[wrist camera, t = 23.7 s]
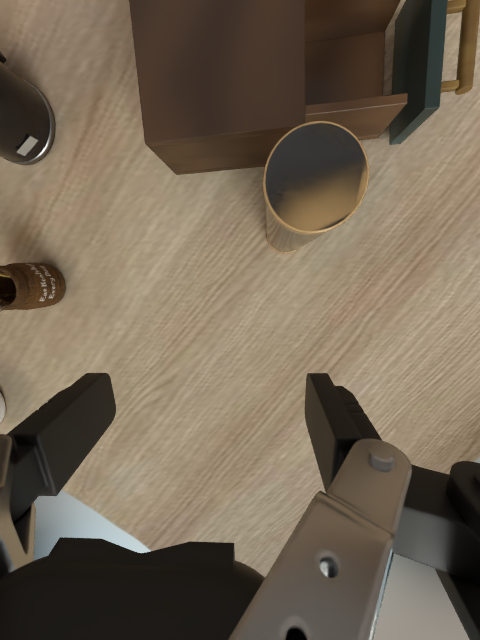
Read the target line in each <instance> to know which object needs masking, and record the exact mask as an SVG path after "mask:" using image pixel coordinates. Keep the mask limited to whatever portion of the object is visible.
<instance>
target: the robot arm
mask: <svg viewBox="0 0 480 640" xmlns="http://www.w3.org/2000/svg"><path fill="white" fill-rule="evenodd" d="M5 61H6V58H5V57H4V56H3V55H2V53H1V52H0V156H1V157H3V158H4V159H6V160H9V161H11V162H13V163H16V164H20V165H30V164H34V163H36V162H38V161H40V160H41V159H43V158H44V157H45V156H46V154H47V153H48V152H49V150H50V148H51V146H52V144H53V141H54V136H55V120H54V115H53V112H52V109H51V107H50V105H49V103H48V101H47V99H46V98H45V96H44V95H43V94H42V93H41V92H40V91H39V90H38V89H37V88H35V87H34V86H33V85H32V84H30V83H29V82H27V81H25V80H24V79H22V78H21V77H20V76H18V75H17V74H16V73H14V72H13V71H12V70H10V69H9V68H8V67H7V66H5V65H4V63H5ZM115 413H116V404H115V399H114V394H113V389H112V384H111V379H110V376H109V375H108V374H107V373H86V374H85V375H84V376H82V377H81V378H80V379H79V380H77V381H76V382H75V383H74V384H73V385H71V386H70V387H68V388H66V389H64V390H62V391H60V392H58V393H57V394H56V395H55V396H54V397H52V398H51V399H50V400H49V401H48V403H45V404H44V405H42V406H41V407H40V408H39V410H36V411H35V412H34V413H32V414H31V415H30V416H29V417H28V418H26V419H25V420H24V421H23V422H21V423H20V424H19V425H18V426H16V427H15V428H14V429H13V430H11V431H10V432H9V433H8V434H6V435H4V434H0V640H373V638H374V634H375V630H376V625H377V621H378V617H379V613H380V609H381V605H382V601H383V597H384V593H385V589H386V585H387V581H388V576H389V573H390V569H391V565H392V561H393V557H394V553H395V554H397V555H400V556H403V557H406V558H408V559H411V560H414V561H416V562H419V563H422V564H424V565H427V566H430V567H433V568H435V570H436V572H437V574H438V576H439V578H440V580H441V582H442V584H443V586H444V588H445V590H446V592H447V594H448V596H449V599H450V601H451V603H452V605H453V606H454V609H455V611H456V613H457V615H458V617H459V619H460V621H461V623H462V625H463V627H464V629H465V631H466V633H467V635H468V637H469V639H470V640H480V463H476V462H469V461H461V462H457V463H455V464H454V465H453V466H452V467H451V470H450V474H449V475H448V474H444V473H440V472H436V471H432V470H428V469H424V468H421V467H418V466H415V465H412V464H411V463H410V461H409V459H408V457H407V456H406V455H405V454H404V453H403V452H402V451H401V450H399V449H398V448H397V447H395V446H393V445H391V444H389V443H387V442H384V441H382V439H381V438H380V436H379V435H378V433H377V431H376V430H375V428H374V427H373V425H372V423H371V422H370V420H369V419H368V417H367V416H366V414H365V413H364V411H363V409H362V408H361V406H360V405H359V403H358V401H357V400H356V398H355V397H354V395H353V394H352V393H351V392H350V391H348V390H347V389H346V388H344V387H343V386H334V384H333V382H332V381H331V379H330V377H329V375H328V374H327V373H308V374H307V378H306V395H305V419H306V425H307V428H308V432H309V435H310V439H311V442H312V446H313V449H314V453H315V456H316V460H317V463H318V467H319V470H320V474H321V477H322V481H323V484H324V488H325V491H326V494H325V493H324V492H322V491H319V492H318V493H317V494H316V495H315V496H314V498H313V499H312V501H311V503H310V504H309V506H308V508H307V509H306V511H305V513H304V514H303V516H302V518H301V519H300V521H299V523H298V524H297V526H296V528H295V529H294V531H293V533H292V534H291V536H290V538H289V539H288V541H287V543H286V544H285V546H284V548H283V549H282V551H281V553H280V554H279V556H278V558H277V559H276V561H275V563H274V564H273V566H272V568H271V569H270V571H269V573H268V574H267V576H266V578H265V577H264V576H262V575H261V574H260V573H258V572H257V571H256V570H254V569H253V568H251V567H249V566H247V565H245V564H243V563H241V562H238V561H236V560H235V552H234V543H215V542H187V543H183V544H179V545H175V546H171V547H167V548H163V549H159V550H155V551H151V552H147V553H137V552H134V551H131V550H129V549H126V548H124V547H121V546H119V545H116V544H114V543H111V542H108V541H106V540H103V539H90V538H60V539H59V540H58V542H57V543H56V545H55V546H54V548H53V549H52V551H51V552H50V554H49V556H46V557H43V558H41V559H38V560H35V561H34V539H35V519H36V518H35V517H36V508H35V505H34V501H35V500H36V498H37V497H38V496H57V495H58V493H59V492H60V491H61V489H62V488H63V487H64V485H65V484H66V483H67V481H68V480H69V479H70V477H71V476H72V475H73V473H74V472H75V471H76V469H77V468H78V467H79V465H80V464H81V463H82V461H83V460H84V459H85V457H86V456H87V455H88V453H89V452H90V451H91V449H92V448H93V447H94V445H95V444H96V443H97V442H98V440H99V439H100V438H101V436H102V435H103V434H104V432H105V431H106V430H107V428H108V427H109V426H110V424H111V423H112V421H113V420H114V417H115Z"/></svg>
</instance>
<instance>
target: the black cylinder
mask: <svg viewBox="0 0 480 640" xmlns="http://www.w3.org/2000/svg"><path fill="white" fill-rule="evenodd" d="M368 180H369V165H368V159H367V155H366V153H365V150H364V148H363V146H362V144H361V143H360V141H359V140H358V139H357V137H356V136H355V135H354V134H353V133H352V132H351V131H349V130H348V129H346V128H345V127H343V126H341V125H339V124H336V123H333V122H328V121H314V122H309V123H305V124H302V125H300V126H297V127H295V128H294V129H292V130H290V131H289V132H288V133H287V134H285V135H284V136H283V137H282V138H281V139H280V140H279V141H278V142H277V144H276V145H275V146H274V148H273V149H272V151H271V153H270V155H269V157H268V159H267V162H266V165H265V169H264V174H263V191H264V198H265V209H266V228H267V231H266V236H267V241H268V243H269V245H270V246H271V248H272V249H274V250H275V251H277V252H279V253H283V254H289V253H292V252H295V251H296V250H298V249H299V248H301V247H302V246H304V245H306V244H307V243H309V242H311V241H312V240H314V239H316V238H317V237H319V236H321V235H322V234H324V233H325V232H328V231H330V230H332V229H334V228H336V227H337V226H339V225H340V224H342V223H343V222H345V221H346V220H347V219H348V218H349V217H351V215H352V214H353V213H354V212H355V211H356V210H357V208H358V207H359V205H360V203H361V202H362V200H363V198H364V195H365V193H366V189H367V186H368Z"/></svg>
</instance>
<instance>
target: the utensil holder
mask: <svg viewBox="0 0 480 640" xmlns="http://www.w3.org/2000/svg"><path fill="white" fill-rule="evenodd" d="M64 294H65V281H64V278H63V276H62V275H61V273H60V272H59V271H58V270H57V269H56V268H54V267H52V266H50V265H47V264H41V263H13V264H9V265H6V266H0V309H2V310H13V309H18V310H28V309H35V308H41V307H46V306H50V305H54V304H56V303H58V302H59V301H60V300H61V299H62V298H63V296H64ZM2 310H1V311H2ZM1 311H0V312H1Z"/></svg>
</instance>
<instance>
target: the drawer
mask: <svg viewBox="0 0 480 640" xmlns="http://www.w3.org/2000/svg"><path fill="white" fill-rule="evenodd" d="M399 2H400V0H305V105H306V123H309V122H314V121H328V122H333V123H336V124H339V125H341V126H343V127H345V128H346V129H348V130H349V131H351V132H352V133H353V134H354V135H355V136H356V137H357V139H358V140H362V139H371V138H378V137H379V136H380V135H381V133H382V132H383V131H384V130H385V129H386V128H387V126H388V125H389V124H390V143H389V144H390V145H392V144H401V143H402V142H403V141H404V140H405V139H406V138H407V137H408V136H409V135H410V134H411V133H412V132H414V131H415V130H416V129H417V128H418V127H419V126H420V125H421V124H422V123H423V122H424V121H425V120H426V119H427V118H429V117H430V116H431V115H432V114H433V113H434V112H435V111H436V110H437V109H438V108H439V106H440V93H441V92H449V91H455V94H457V95H460V94H464V93H466V92H468V91H470V90H471V89H472V87H473V77H474V66H475V56H476V46H477V35H478V25H479V15H480V0H451V1H448V0H406V1H405V3H404V5H403V7H402V9H401V11H400V13H399V15H398V17H397V19H396V21H395V36H394V57H393V78H392V95H388V96H382V95H383V71H384V46H385V30H386V28H387V26H388V24H389V22H390V20H391V18H392V16H393V14H394V12H395V10H396V8H397V6H398V4H399ZM461 11H462V20H461V31H460V43H459V55H458V66H457V78H456V80H453V81H445V82H441V80H442V67H443V54H444V41H445V28H446V15H447V14H452V13H458V12H461Z"/></svg>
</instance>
